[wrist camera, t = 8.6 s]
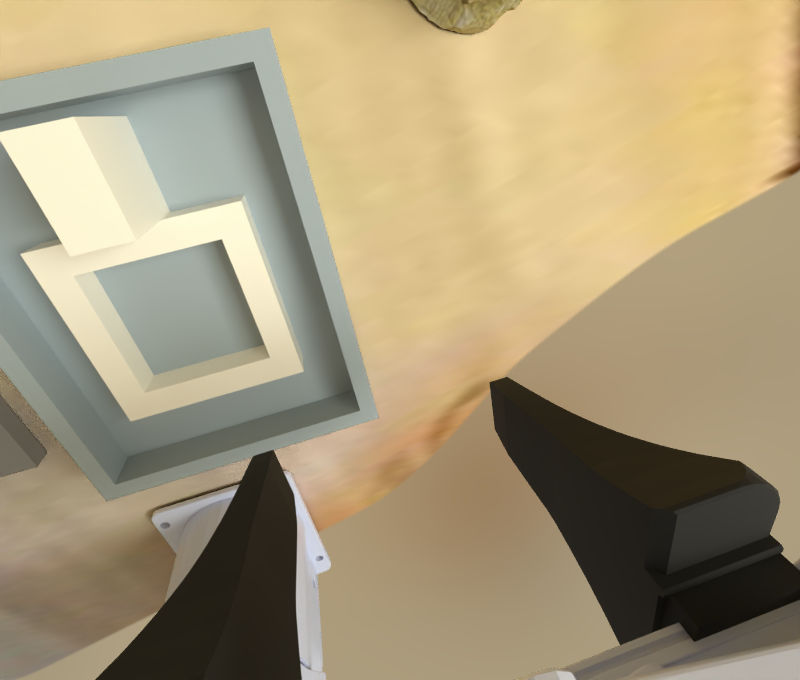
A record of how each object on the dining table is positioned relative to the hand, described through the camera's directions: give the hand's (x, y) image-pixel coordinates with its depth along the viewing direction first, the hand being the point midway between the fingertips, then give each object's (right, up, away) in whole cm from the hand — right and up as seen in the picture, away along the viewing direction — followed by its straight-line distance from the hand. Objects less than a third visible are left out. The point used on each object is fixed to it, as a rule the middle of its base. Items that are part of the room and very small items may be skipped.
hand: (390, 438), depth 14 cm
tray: (-9, +5, +6) cm, 12 cm away
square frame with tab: (-9, +6, +4) cm, 12 cm away
